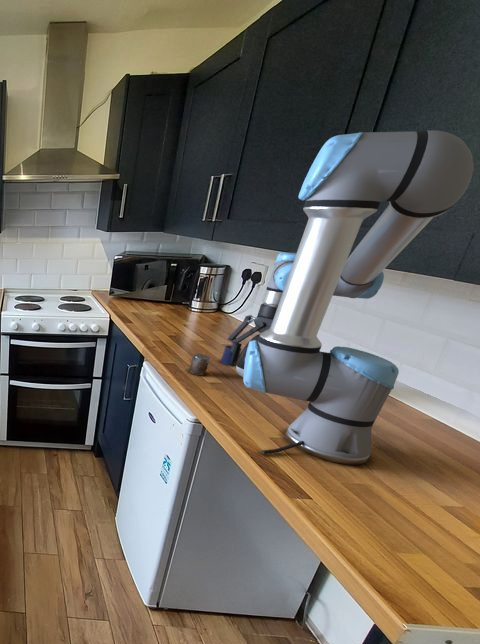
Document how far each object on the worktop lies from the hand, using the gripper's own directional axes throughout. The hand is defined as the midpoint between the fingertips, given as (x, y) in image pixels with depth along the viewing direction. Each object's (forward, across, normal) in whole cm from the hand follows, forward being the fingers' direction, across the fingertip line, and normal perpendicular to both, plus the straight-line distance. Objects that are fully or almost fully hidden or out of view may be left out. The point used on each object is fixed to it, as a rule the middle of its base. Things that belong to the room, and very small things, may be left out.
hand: (253, 368), depth 133 cm
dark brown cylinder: (+3, +11, +13) cm, 17 cm away
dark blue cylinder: (+3, +11, -7) cm, 14 cm away
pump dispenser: (+3, 0, 0) cm, 3 cm away
